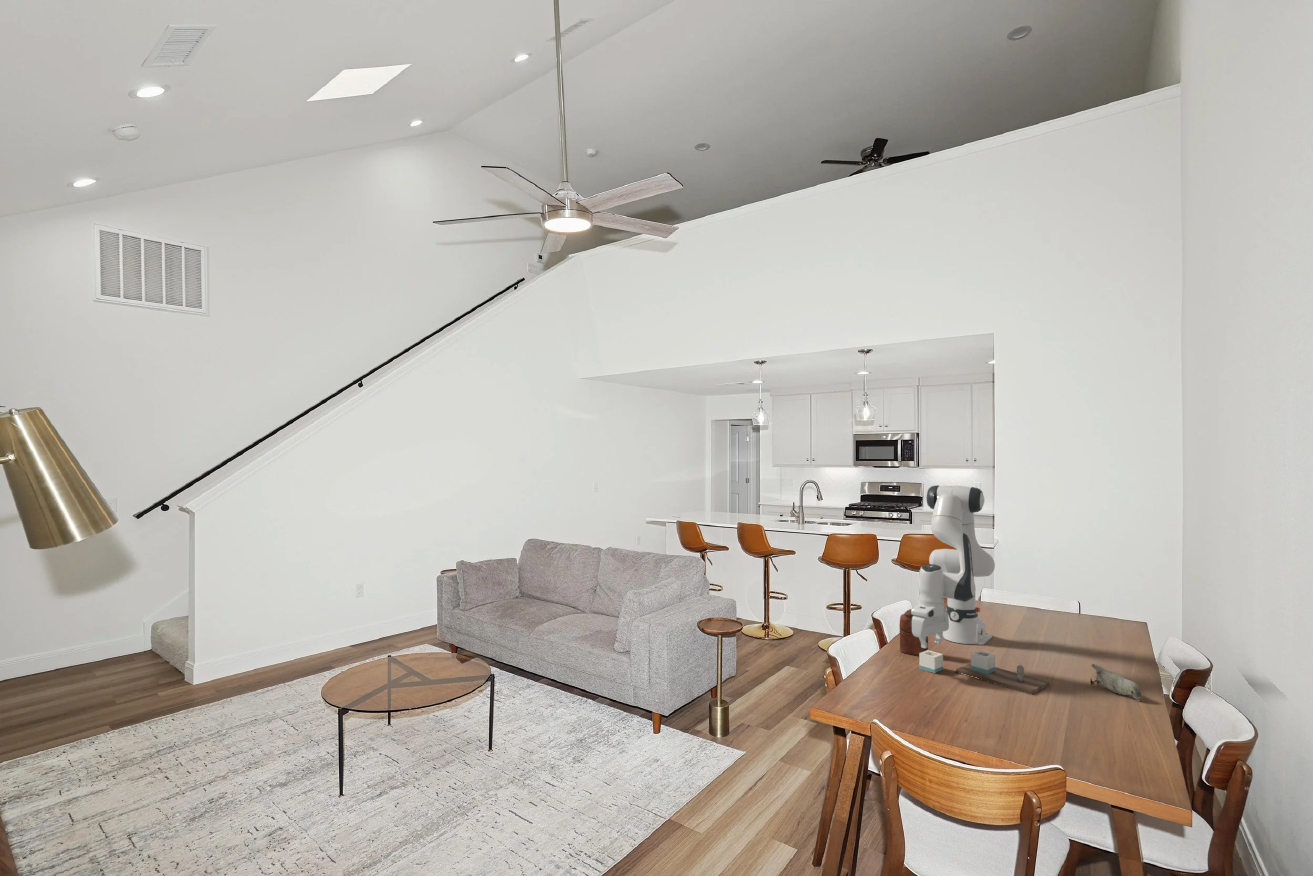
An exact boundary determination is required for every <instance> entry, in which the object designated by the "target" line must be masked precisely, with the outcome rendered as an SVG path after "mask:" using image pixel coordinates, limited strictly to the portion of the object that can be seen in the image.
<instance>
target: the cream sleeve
mask: <svg viewBox="0 0 1313 876" xmlns="http://www.w3.org/2000/svg"><path fill="white" fill-rule="evenodd" d="M918 657H919V658H918V659H919V667H918V668H919V670H921V669H922V670H921V671H924V670H925V672H927V671H929V672H928V673H930V672H933V673H932V674H934V673H935V674H937V673H936V672H938V671H940V672H942V671H941V670H943V671H944V654H943V653H940V652H936V651H933V650H929V649H928V650H927V651H924V652H921V653H919V656H918ZM938 673H939V672H938Z"/></svg>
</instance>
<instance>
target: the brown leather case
mask: <svg viewBox="0 0 1313 876" xmlns="http://www.w3.org/2000/svg"><path fill="white" fill-rule="evenodd" d="M912 609H913V608H910V609H907V610H906V611H905V612H904V613H901V615H900V618H899V651H900V652H901V653H904V654H908V655H912V656H917V657H919V653H921V652H924V651H927V650H929V636H927V637H926V639H925V640H926V643H928V645H927V646H928V647H927V648H922V647H921V642H920V639H919V637H915V636H914V635H913V633H912V617H913V616H914V615H912V614H911V610H912Z"/></svg>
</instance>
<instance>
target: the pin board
mask: <svg viewBox="0 0 1313 876" xmlns="http://www.w3.org/2000/svg"><path fill="white" fill-rule="evenodd" d="M983 656H984V655H983ZM955 671H956V673H957V672H959V673H958V674H960V673H963V674H962V675H964V674H966V675H965V676H967V675H969V676H968V677H970V676H973V677H972V678H974V677H977V678H979V679H978V680H980V679H982V680H981V681H984V680H985V681H984V682H987V681H989V682H988V683H990V682H992V683H991V684H994V683H996V684H995V685H997V684H998V686H1001V685H1002V686H1001V687H1004V686H1006V687H1005V688H1007V687H1009V688H1008V689H1011V690H1014V689H1015V690H1014V691H1017V690H1018V692H1021V693H1024V692H1025V693H1024V694H1027V693H1028V694H1027V695H1031V694H1032V695H1034V694H1036V693H1038V692H1040V691H1041V690H1043V689H1045V688H1047V687H1049V686H1050V681H1047V680H1044V679H1039V678H1036V677H1033V676H1028V675H1025V668H1024V666H1023V665H1022V664H1019V665H1017V666H1016V672H1014V671H1011V670H1007V669H1005V668H1004V669H1003V668H1000V667H997V666H995V671H994V672H992V673H989V674H985V673H981V672H978V671H974V670H971V662H970V663H968V664H965V665H963V666H960V667H958V668H956V669H955ZM977 678H976V679H977ZM1048 685H1049V686H1048ZM1046 686H1047V687H1046ZM1044 687H1045V688H1044ZM1039 690H1040V691H1039ZM1037 691H1038V692H1037ZM1035 692H1036V693H1035ZM1033 693H1034V694H1033Z"/></svg>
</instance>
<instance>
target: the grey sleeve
mask: <svg viewBox="0 0 1313 876" xmlns="http://www.w3.org/2000/svg"><path fill="white" fill-rule="evenodd" d="M983 655H984V656H983ZM970 663H971V670H974V671H978V672H981V673H985V674H989V673H992V672H994V671H995V667H996V654H994V653H991V652H987V651H984V650H980V649H979V650H976V651H973V652H971V653H970Z"/></svg>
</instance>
